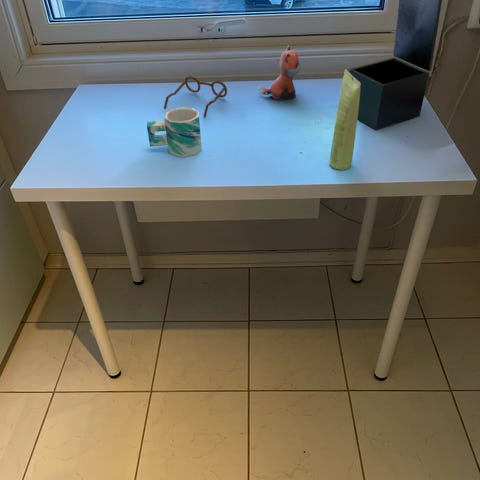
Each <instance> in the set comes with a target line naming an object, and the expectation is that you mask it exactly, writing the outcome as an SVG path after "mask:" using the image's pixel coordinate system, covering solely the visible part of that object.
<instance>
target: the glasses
mask: <svg viewBox="0 0 480 480" xmlns="http://www.w3.org/2000/svg"><path fill="white" fill-rule="evenodd" d="M189 79H192V80H194V81H195V83H197V89H193V88H191V87H190V86H189V83H188V80H189ZM215 84H218V85H220V86H222V88H221V90H220V91H219V92H218V93H217V92H216V90H215V87H214V86H215ZM201 85H205V86H209V87H211V91H212V93H213V95H214V96H215V97H214V98H213V99H212V100H211V101H209V102H208V103H207V104H206V105H205V108H204V112H203V116H202V117H203V118H206V116H207V114H208V110H209V107H210V106H211V105H212V104H214V103H216V102H217V100H218V99H219V98H225V97H226V96H227V95H228V88H227V86H226V84H225V83H224V82H223V81H221V80H213V81H212V82H211V83H210V82H208V81H202V80H201V81H200V80H199V79H198V78H197V77H195V76H193V75H188V76H186V78H185V79H184V80H183V82H182V83H181V84H180V85H179V86H178V87H177V89H175V90H174V91H173V92H171V93H169V94H168V95H167V96H166V97H165V100H164V105H163V109H164V110H166V109H167V108H168V107H167V106H168V102H169V99H170V98H171V97H172V96H175V95H177V94H178V93H179V92H180V90H181V89H183V87H186V88H187V90H189V92H192V93H198V92H200V90H201Z"/></svg>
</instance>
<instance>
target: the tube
mask: <svg viewBox="0 0 480 480" xmlns="http://www.w3.org/2000/svg"><path fill="white" fill-rule="evenodd" d="M360 85H361V83H360V82H359V81H358V80H356V79H355V78H354V77H353V76H352V75H351V74H350V73H349V70H347V69H346V68H345V69H344V74H343V78H342V82H341V87H340V94H339V98H338V104H337V111H336V114H335V115H336V116H335V122H334V127H333V134H332V142H331V149H330V156H329V166H330V167H331V168H333V169H335V170H341V171H343V170H348V169H350V168H351V167H352V164H353V156H354V149H355V142H356V133H357V125H358V120H357V118H358V109H359V99H360Z"/></svg>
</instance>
